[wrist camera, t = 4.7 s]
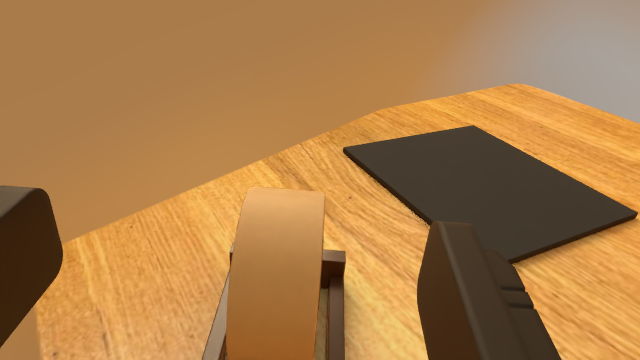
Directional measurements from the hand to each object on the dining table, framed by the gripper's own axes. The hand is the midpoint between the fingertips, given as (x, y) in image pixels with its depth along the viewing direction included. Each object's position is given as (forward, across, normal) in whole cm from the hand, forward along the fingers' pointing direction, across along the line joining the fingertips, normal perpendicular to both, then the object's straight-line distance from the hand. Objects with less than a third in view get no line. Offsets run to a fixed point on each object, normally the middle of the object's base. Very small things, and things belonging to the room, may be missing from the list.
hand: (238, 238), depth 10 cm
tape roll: (+12, 0, +17) cm, 21 cm away
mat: (+34, -18, +17) cm, 42 cm away
